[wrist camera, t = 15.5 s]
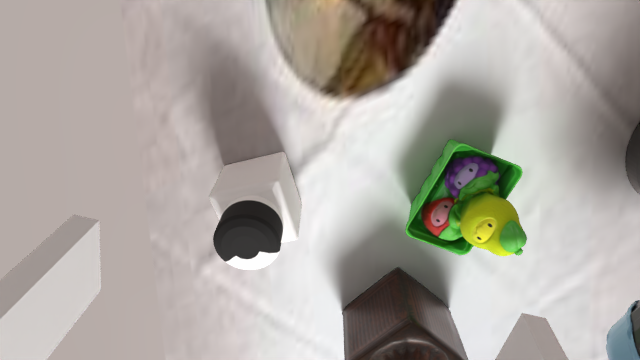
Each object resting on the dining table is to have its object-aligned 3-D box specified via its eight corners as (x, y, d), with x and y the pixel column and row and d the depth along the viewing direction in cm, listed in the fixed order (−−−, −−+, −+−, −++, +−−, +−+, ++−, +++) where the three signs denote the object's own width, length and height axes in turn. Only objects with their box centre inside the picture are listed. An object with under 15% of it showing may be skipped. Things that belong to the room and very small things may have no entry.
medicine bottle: (223, 164, 48) (192, 222, 37) (284, 149, 47) (271, 205, 36) (244, 218, 51) (221, 286, 40) (302, 205, 50) (295, 271, 39)
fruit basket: (445, 123, 45) (478, 169, 35) (517, 153, 47) (569, 206, 37) (395, 209, 50) (412, 271, 40) (462, 234, 52) (494, 301, 41)
